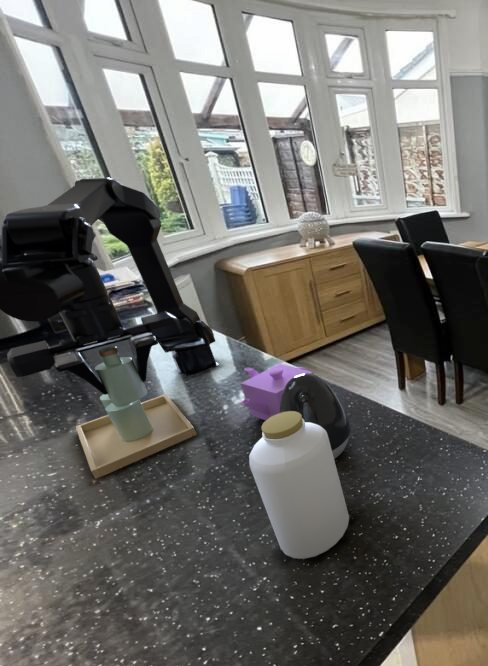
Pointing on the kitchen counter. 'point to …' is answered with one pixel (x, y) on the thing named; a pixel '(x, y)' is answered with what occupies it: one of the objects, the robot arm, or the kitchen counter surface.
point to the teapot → (267, 389)
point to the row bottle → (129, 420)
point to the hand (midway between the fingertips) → (125, 387)
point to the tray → (114, 453)
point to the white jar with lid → (299, 485)
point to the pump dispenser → (317, 408)
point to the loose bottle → (120, 377)
